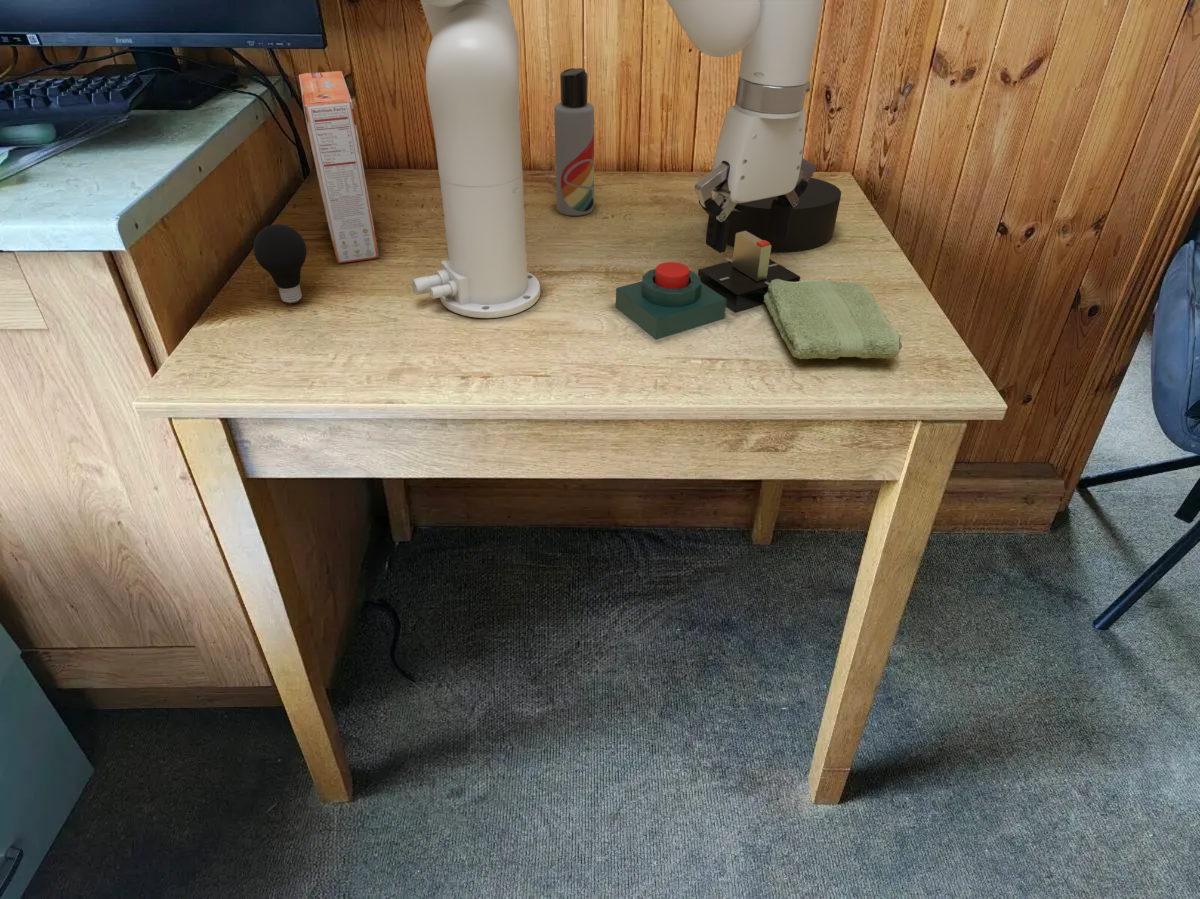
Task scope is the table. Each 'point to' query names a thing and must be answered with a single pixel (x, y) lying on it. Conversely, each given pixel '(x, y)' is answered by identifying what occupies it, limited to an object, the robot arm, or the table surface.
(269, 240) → the light bulb
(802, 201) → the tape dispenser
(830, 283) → the washcloth
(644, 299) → the button block
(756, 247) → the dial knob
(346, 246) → the cracker box
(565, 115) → the lotion bottle
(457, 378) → the table surface
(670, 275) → the button
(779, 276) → the dial panel
